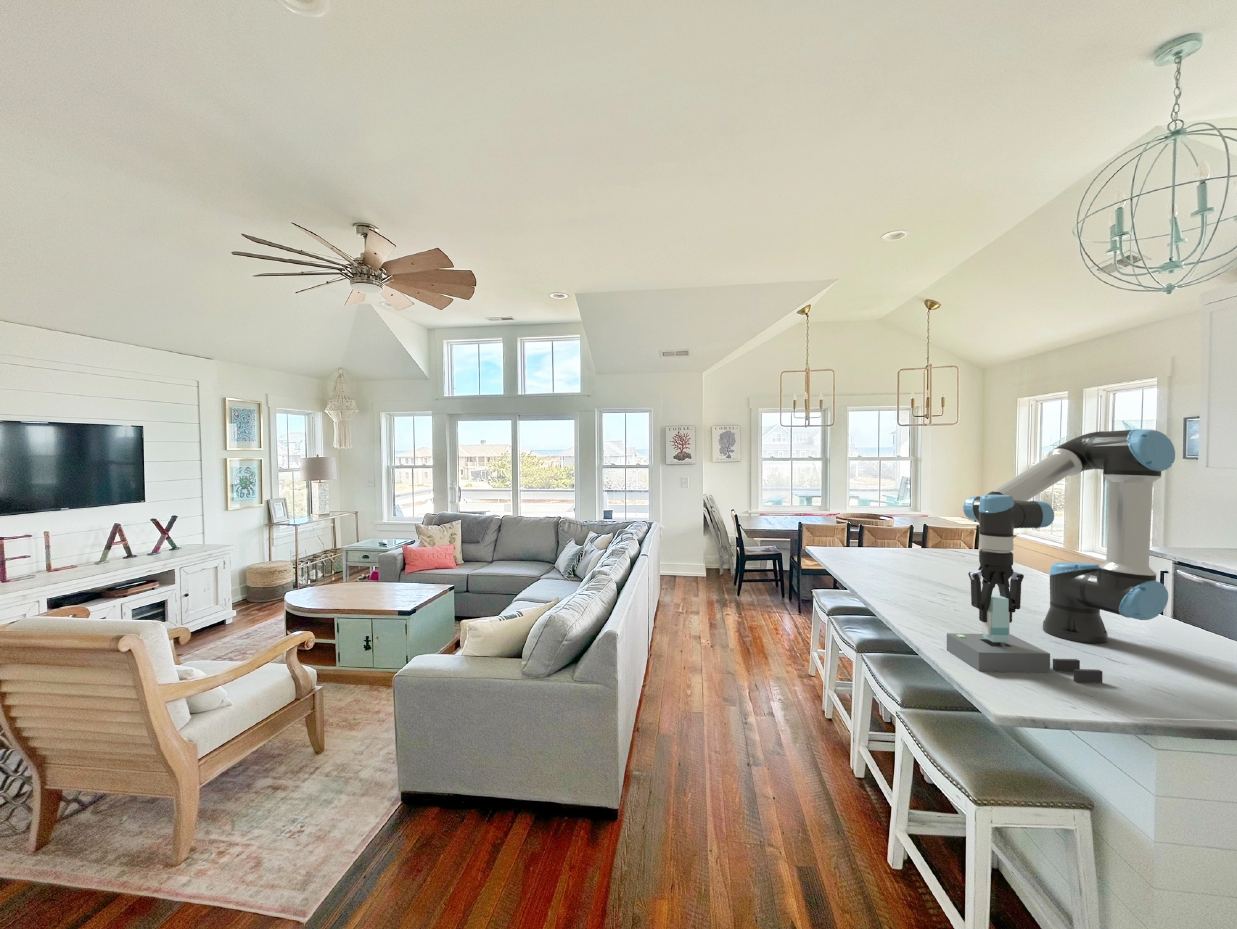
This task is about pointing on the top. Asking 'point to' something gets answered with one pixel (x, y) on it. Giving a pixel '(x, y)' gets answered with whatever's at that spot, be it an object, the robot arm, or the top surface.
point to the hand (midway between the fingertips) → (995, 633)
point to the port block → (998, 653)
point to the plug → (998, 619)
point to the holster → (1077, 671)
